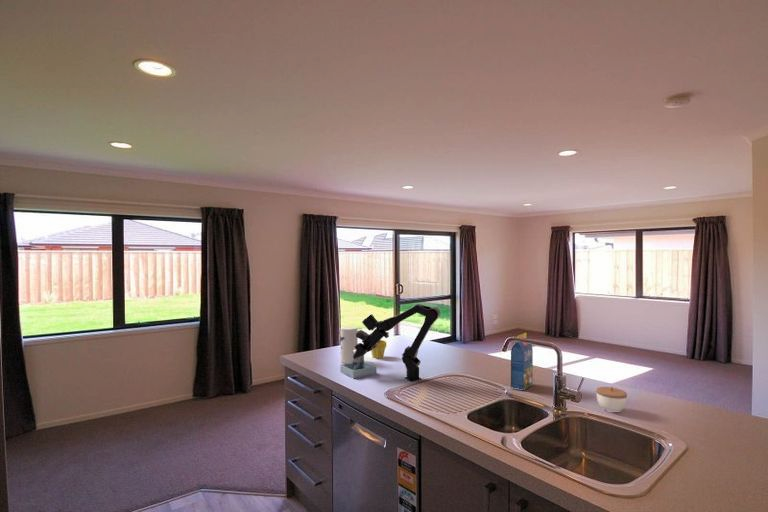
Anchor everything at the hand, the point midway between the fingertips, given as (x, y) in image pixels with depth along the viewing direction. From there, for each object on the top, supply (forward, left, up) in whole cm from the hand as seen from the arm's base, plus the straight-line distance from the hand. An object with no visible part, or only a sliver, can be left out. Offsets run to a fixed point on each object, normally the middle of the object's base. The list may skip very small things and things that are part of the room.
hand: (356, 356), depth 208 cm
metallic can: (-1, -1, -7) cm, 7 cm away
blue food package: (-63, -55, -9) cm, 84 cm away
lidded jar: (-101, -61, -9) cm, 118 cm away
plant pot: (+20, -27, -9) cm, 35 cm away
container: (+22, -8, -9) cm, 25 cm away
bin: (-1, -1, -9) cm, 9 cm away
